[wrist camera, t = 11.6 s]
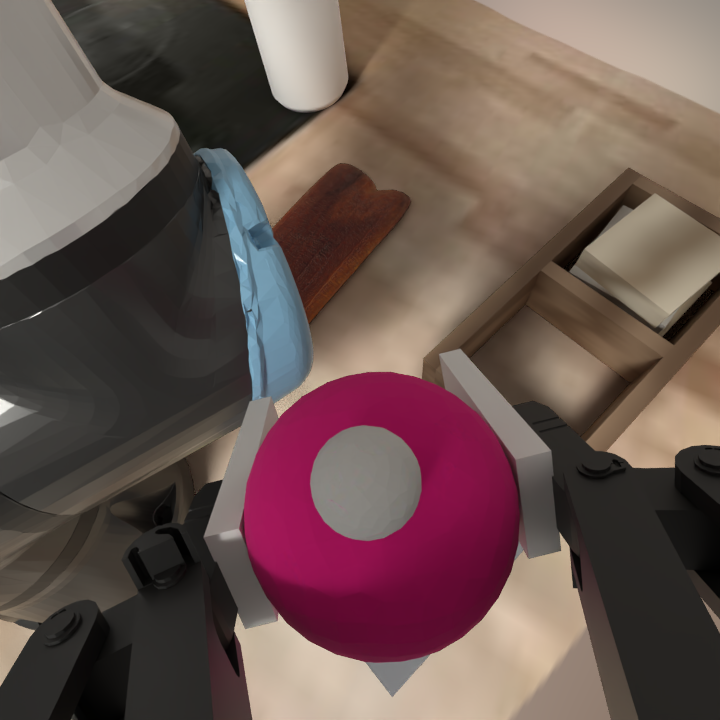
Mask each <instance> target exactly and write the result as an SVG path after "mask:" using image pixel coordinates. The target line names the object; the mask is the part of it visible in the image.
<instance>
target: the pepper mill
mask: <svg viewBox="0 0 720 720" xmlns="http://www.w3.org/2000/svg"><path fill="white" fill-rule="evenodd" d="M519 524H520V511H519V500H518V491H517V487H516V484H515V480H514V477H513V473H512V470H511V466H510V464H509V462H508V460H507V458H506V456H505V454H504V452H503V449H502V447H501V445H500V443H499V441H498V440H497V438H496V436H495V435H494V433H493V431H492V430H491V429H490V428H489V426H488V425H487V424H486V423H485V421H484V420H483V419H482V418H481V416H480V415H479V414H478V413H477V412H475V411H474V410H473V409H472V408H470V407H469V406H468V405H467V404H466V403H464V402H463V401H462V400H461V399H460V398H458V397H457V396H456V395H454V394H453V393H451V392H449V391H447V390H445V389H444V388H442V387H440V386H438V385H436V384H434V383H431V382H428V381H425V380H423V379H420V378H417V377H414V376H409V375H404V374H398V373H393V372H367V373H361V374H355V375H349V376H345V377H342V378H339V379H336V380H333V381H330V382H327V383H325V384H324V385H322V386H320V387H318V388H317V389H315V390H313V391H311V392H309V393H308V394H306V395H304V396H302V397H301V398H300V399H299V400H298V401H297V402H296V403H294V404H293V405H292V406H291V407H290V408H289V409H288V410H286V411H285V412H284V413H283V414H282V415H281V416H280V418H279V419H278V420H277V421H276V423H275V424H274V425H273V427H272V428H271V429H270V430H269V432H268V433H267V435H266V437H265V439H264V441H263V443H262V444H261V446H260V448H259V450H258V452H257V454H256V456H255V459H254V462H253V465H252V468H251V471H250V474H249V477H248V480H247V484H246V493H245V502H244V529H245V538H246V544H247V550H248V556H249V559H250V562H251V565H252V568H253V571H254V573H255V575H256V577H257V579H258V581H259V583H260V585H261V587H262V589H263V591H264V593H265V595H266V597H267V598H268V600H269V601H270V602H271V604H272V605H273V606H274V607H275V609H276V610H277V611H278V612H279V614H280V615H281V616H282V617H283V619H284V620H285V621H286V623H287V624H289V625H290V626H291V627H292V628H294V629H295V630H296V631H297V632H299V633H300V634H301V635H302V636H303V637H305V638H306V639H307V640H308V641H310V642H312V643H314V644H316V645H318V646H320V647H322V648H324V649H326V650H328V651H330V652H332V653H334V654H337V655H340V656H344V657H348V658H352V659H356V660H360V661H364V662H372V663H384V662H402V661H407V660H412V659H417V658H421V657H424V656H427V655H429V654H432V653H435V652H438V651H440V650H442V649H443V648H445V647H447V646H448V645H450V644H452V643H454V642H455V641H457V640H459V639H460V638H462V637H463V636H464V635H465V634H467V633H468V632H469V631H470V630H471V629H472V628H473V627H474V626H475V625H477V624H478V623H479V622H480V621H481V620H482V619H483V618H484V616H485V615H486V614H487V612H488V611H489V610H490V608H491V607H492V606H493V604H494V603H495V602H496V600H497V599H498V598H499V596H500V593H501V591H502V589H503V587H504V585H505V583H506V581H507V579H508V577H509V575H510V573H511V570H512V566H513V563H514V559H515V555H516V551H517V547H518V542H519Z"/></svg>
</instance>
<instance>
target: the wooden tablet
mask: <svg viewBox="0 0 720 720" xmlns="http://www.w3.org/2000/svg"><path fill="white" fill-rule="evenodd" d="M410 203H411V201H410V197H409V196H407V195H406V194H404V193H403V192H399V191H397V190H377V189H376V187H375V184H374V183H373V181H372V180H371V179H370V178H369V177H368V176H367V175H366V174H365V173H363V172H362V171H361V170H359V169H358V168H356V167H354V166H352V165H349V164H342V163H340V164H338V165H336V166H334V167H333V168H331V169H330V170H329V171H328V172H327V173H326V174H325V175H324V176H323V177H322V178H320V179H319V180H318V181H317V182H316V183H315V184H314V185H313V186H312V187H311V188H310V189H309V190H308V191H307V192H306V193H305V194H304V195H303V196H302V197H301V198H300V199H299V201H298V202H297V203H296V204H295V205H294V206H293V207H292V208H291V209H290V210H289V211H288V212H287V213H286V214H285V215H284V216H283V218H282V219H281V220H280V221H279V222H278V223H277V224H276V225H275V226H274V227H273V228H272V231H273V238H274V239H275V240H276V241H277V243H278V244H279V245H280V247H281V248H282V251H283V253H284V256H285V258H286V260H287V263H288V265H289V267H290V270H291V273H292V275H293V278H294V281H295V283H296V286H297V289H298V292H299V295H300V298H301V301H302V304H303V307H304V310H305V313H306V317H307V320H308V324H309V323H310V322H311V321H312V320H313V318H314V317H315V316H316V315H317V314H318V313H319V311H320V310H321V309H322V308H323V307H324V306H325V304H326V303H327V302H328V301H329V300H330V298H331V297H332V296H333V295H334V294H335V293H336V292H337V291H338V290H339V288H340V287H341V286H342V285H343V284H344V283H345V281H346V280H347V279H348V278H349V277H350V276H351V275H352V274H353V273H354V272H355V271H356V269H357V268H358V267H359V266H360V264H361V263H362V262H363V261H364V260H365V259H366V258H367V257H368V255H369V254H370V253H371V252H372V251H373V249H374V248H375V247H376V246H377V245H378V244H379V243H380V242H381V241H382V240H383V239H384V238H385V237H386V236H387V235H388V233H389V232H390V231H391V230H392V229H393V227H394V226H395V225H396V224H397V223H398V221H399V220H400V219H401V218H402V216H403V215H404V213H405V212H406V210H407V209H408V207H409V205H410Z"/></svg>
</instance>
